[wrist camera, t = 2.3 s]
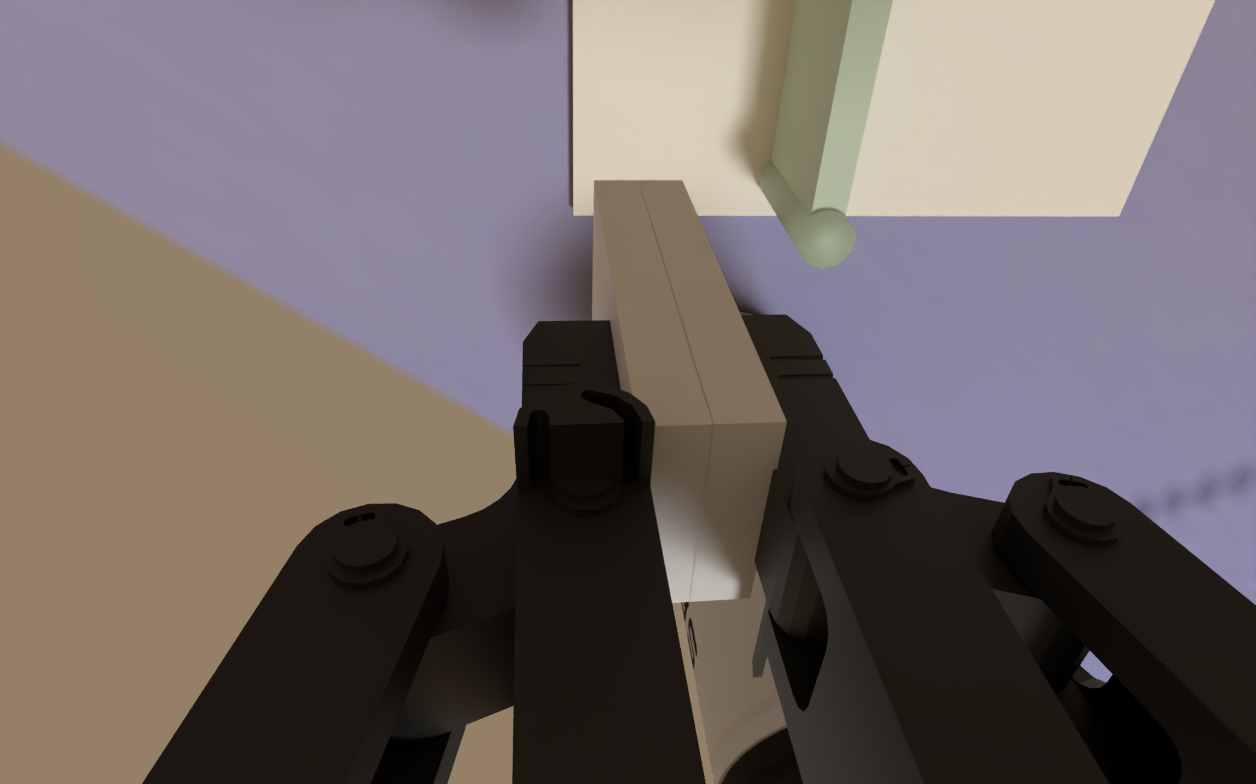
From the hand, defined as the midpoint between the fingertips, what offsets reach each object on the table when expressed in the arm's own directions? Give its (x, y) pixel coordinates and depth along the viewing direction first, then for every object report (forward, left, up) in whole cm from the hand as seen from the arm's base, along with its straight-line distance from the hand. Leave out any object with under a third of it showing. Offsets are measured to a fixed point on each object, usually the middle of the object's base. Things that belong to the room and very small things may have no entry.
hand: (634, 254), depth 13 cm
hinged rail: (-6, -1, -12) cm, 14 cm away
